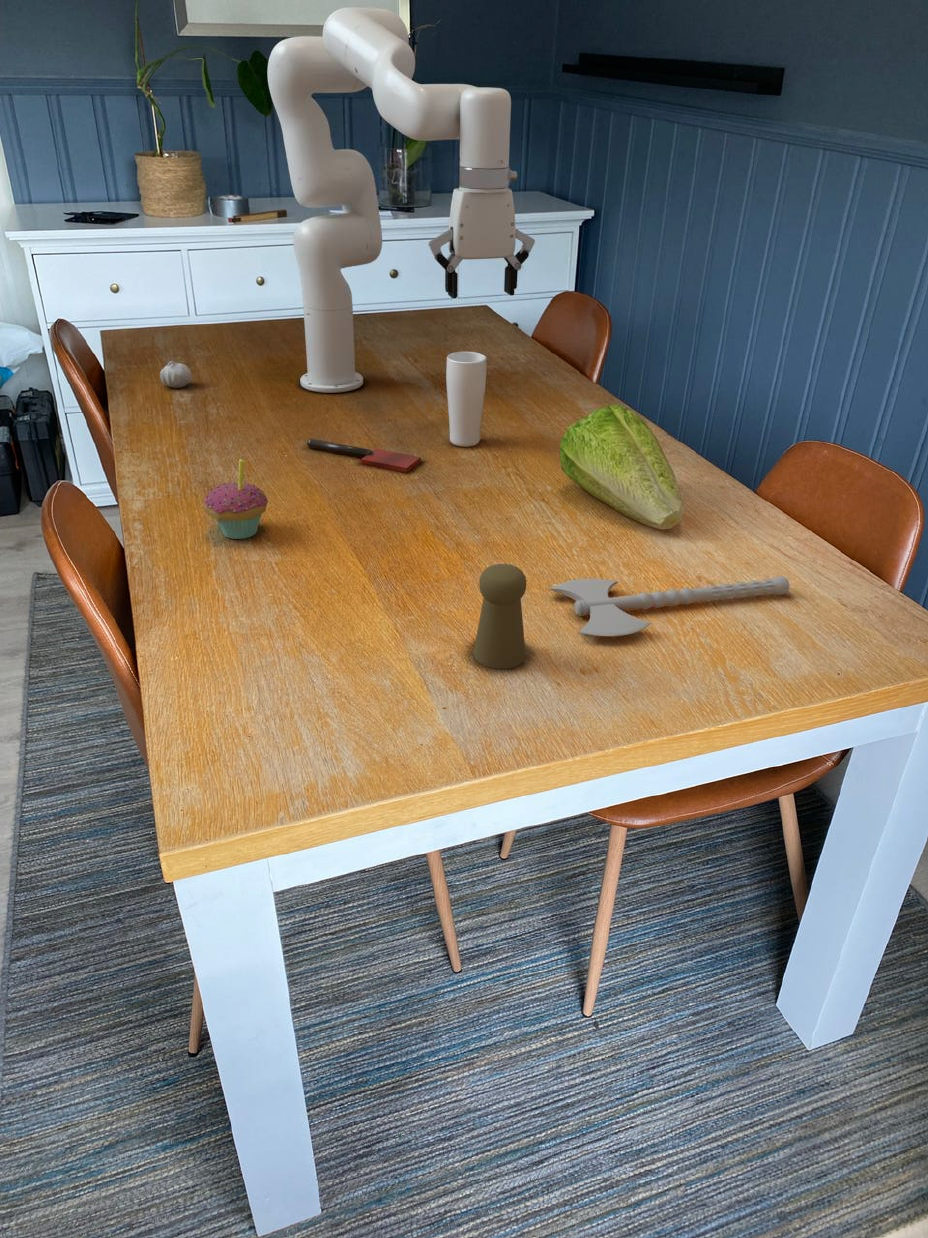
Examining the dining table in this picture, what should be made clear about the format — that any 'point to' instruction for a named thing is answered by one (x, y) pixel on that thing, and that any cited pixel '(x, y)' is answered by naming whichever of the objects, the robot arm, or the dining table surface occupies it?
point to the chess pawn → (501, 617)
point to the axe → (648, 601)
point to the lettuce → (622, 466)
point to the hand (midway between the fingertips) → (481, 295)
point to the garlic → (175, 375)
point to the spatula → (370, 455)
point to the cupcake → (236, 507)
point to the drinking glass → (465, 396)
